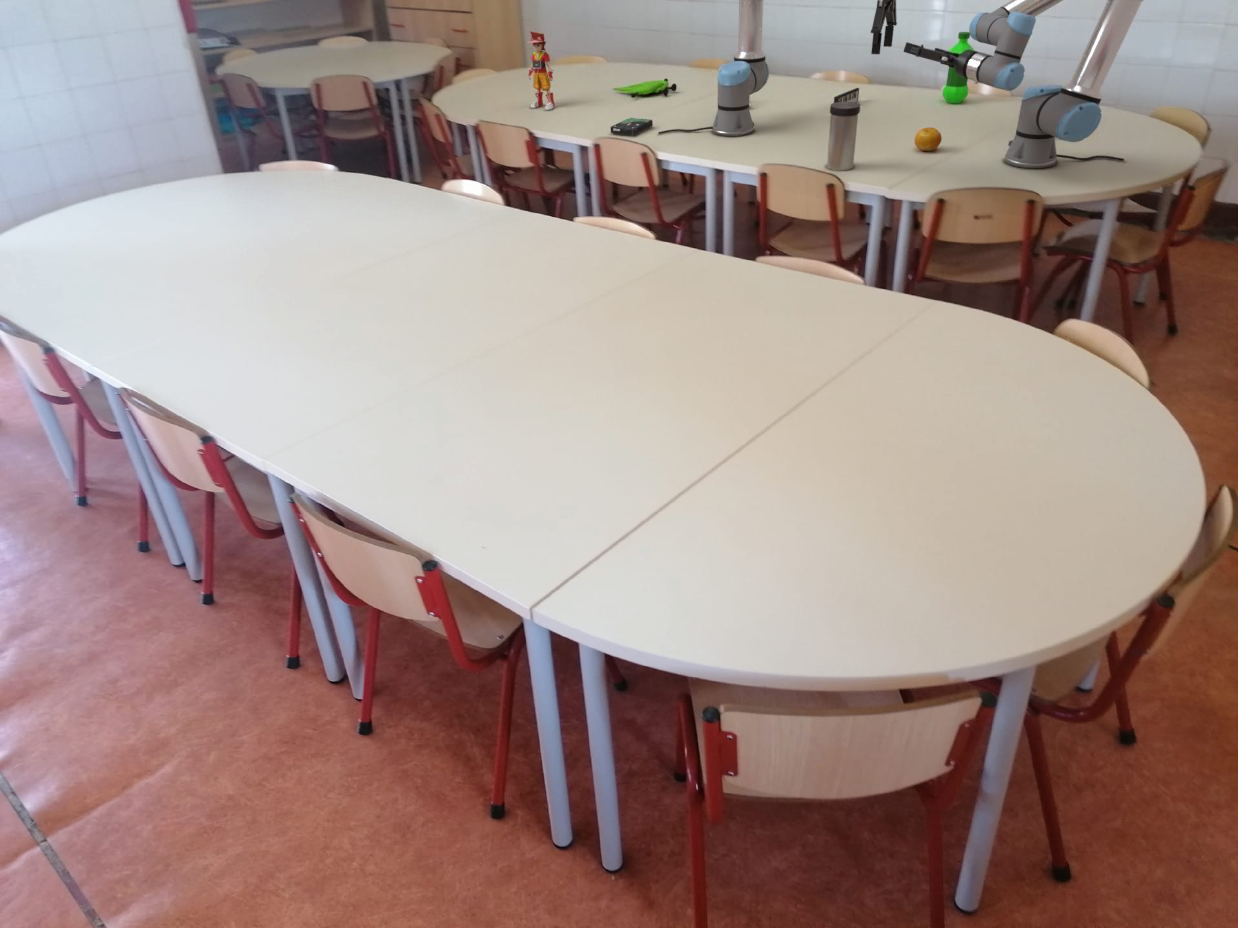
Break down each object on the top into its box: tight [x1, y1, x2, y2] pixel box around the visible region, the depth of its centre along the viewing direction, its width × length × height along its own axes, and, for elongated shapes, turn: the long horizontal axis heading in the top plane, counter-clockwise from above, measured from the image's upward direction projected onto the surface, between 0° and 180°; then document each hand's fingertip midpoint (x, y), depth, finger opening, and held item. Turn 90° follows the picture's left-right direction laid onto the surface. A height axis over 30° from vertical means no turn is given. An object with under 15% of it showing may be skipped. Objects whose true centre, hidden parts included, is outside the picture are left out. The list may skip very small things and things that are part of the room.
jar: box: [826, 113, 859, 171], centre depth 289 cm, size 8×8×19 cm
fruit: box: [914, 127, 943, 152], centre depth 303 cm, size 8×8×8 cm
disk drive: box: [610, 117, 653, 136], centre depth 344 cm, size 10×3×15 cm
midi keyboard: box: [833, 87, 860, 103], centre depth 357 cm, size 18×1×5 cm, turn 138°
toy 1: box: [527, 31, 556, 111], centre depth 374 cm, size 12×9×30 cm
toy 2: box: [612, 78, 677, 99], centre depth 396 cm, size 28×5×30 cm
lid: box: [829, 102, 861, 116], centre depth 284 cm, size 9×9×2 cm
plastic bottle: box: [942, 31, 976, 104], centre depth 348 cm, size 10×10×25 cm
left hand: (881, 50), depth 308 cm, fingers open, 13 cm apart
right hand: (920, 50), depth 276 cm, fingers open, 13 cm apart
